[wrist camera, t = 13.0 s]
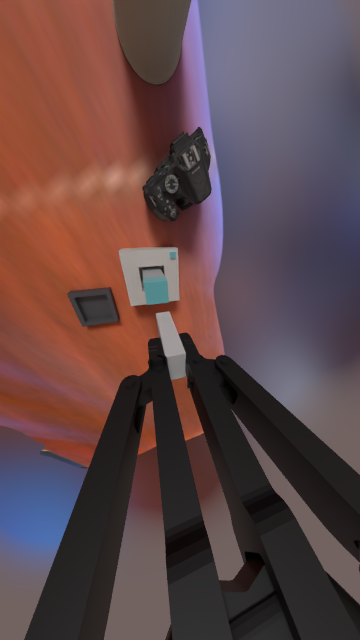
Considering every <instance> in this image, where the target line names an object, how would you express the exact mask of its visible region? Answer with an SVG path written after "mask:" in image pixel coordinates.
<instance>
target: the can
mask: <svg viewBox="0 0 360 640" xmlns="http://www.w3.org/2000/svg"><path fill="white" fill-rule="evenodd" d="M190 3H191V0H113V12H114V19H115V25H116V30H117V34H118V37H119V41H120V44H121V46H122V49H123V51H124V54H125V56H126V58H127V60H128V62H129V63H130V65H131V67H132V68H133V69H134V71H135V72H136V73H137V74H138V75H139V76H140V77H141V78H142V79H143V80H145V81H146V82H148V83H150V84H154V85H159V84H163V83H165V82H166V81H168V80H169V79H170V78H171V76H172V75H173V74H174V72H175V70H176V68H177V65H178V62H179V59H180V54H181V48H182V40H183V35H184V30H185V26H186V21H187V17H188V12H189V8H190Z"/></svg>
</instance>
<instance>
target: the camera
mask: <svg viewBox="0 0 360 640" xmlns="http://www.w3.org/2000/svg"><path fill="white" fill-rule="evenodd" d="M170 148H171V149H170V151H169V153H170V155H169V156H168V157H167V158H166V159H165V160H164V161H163V162H162V163H161V164H160V165H159V166H158V167H157V168H156V170H155V173H154V175H152V176H151V177H150V178H149V179H148V181H147V182H146V185H144V186H143V188H142V189H143V191H144V198H145V201H146V203H147V205H148V206H149V208H150V209H151V211H152V212H153V213H154V215H155V216H156V217H157V218H159V219H161V220H164V221H167V220H170V221H175V220H176V219H177V218H178V214H179V212H178V208H177V206H178V207H180V208H181V210H183V211H184V210H186V209H188V208H189V207H190V206H192V205H193V204H199V203H201V202H202V201H204V200H205V199H206V198H207V197H208V196H209V195H210V194H211V184H210V178H209V173H208V170H209V166H210V158H211V156H210V151H209V148H208V144H207V139H206V138H205V137H204V134H203V131H202V129H201V128H200V127H198V128H197V130H196V131H195V132H194V133H193V134H191V135H190V136H189V135H188V133H186V134H185V135H184V132H182V133H181V134H180V135H179V136H178V137H177V138H176V139H175V140H174V141H173V142H172V143H171V145H170Z"/></svg>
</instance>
